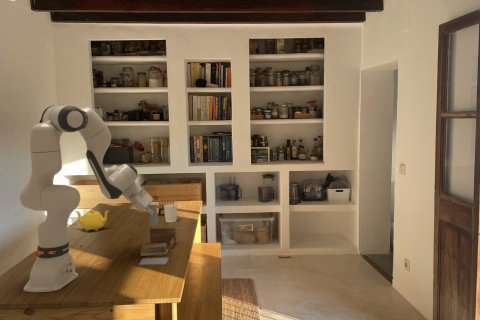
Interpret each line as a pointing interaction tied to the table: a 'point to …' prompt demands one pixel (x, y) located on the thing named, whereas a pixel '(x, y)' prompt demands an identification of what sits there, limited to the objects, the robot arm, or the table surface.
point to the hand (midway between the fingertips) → (154, 212)
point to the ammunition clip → (161, 208)
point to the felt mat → (153, 261)
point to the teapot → (92, 220)
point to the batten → (153, 217)
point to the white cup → (170, 212)
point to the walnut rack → (163, 236)
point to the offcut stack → (154, 249)
